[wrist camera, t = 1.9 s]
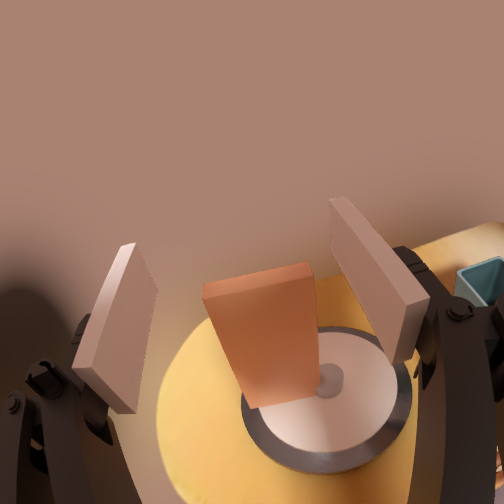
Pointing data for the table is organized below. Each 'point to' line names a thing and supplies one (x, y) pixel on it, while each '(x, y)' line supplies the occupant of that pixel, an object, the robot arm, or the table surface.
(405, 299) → the robot arm
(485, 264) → the flower pot
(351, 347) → the dial
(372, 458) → the base
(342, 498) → the table surface
